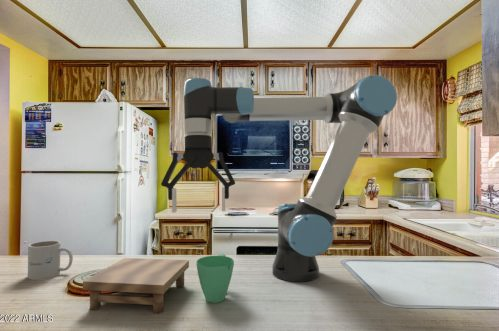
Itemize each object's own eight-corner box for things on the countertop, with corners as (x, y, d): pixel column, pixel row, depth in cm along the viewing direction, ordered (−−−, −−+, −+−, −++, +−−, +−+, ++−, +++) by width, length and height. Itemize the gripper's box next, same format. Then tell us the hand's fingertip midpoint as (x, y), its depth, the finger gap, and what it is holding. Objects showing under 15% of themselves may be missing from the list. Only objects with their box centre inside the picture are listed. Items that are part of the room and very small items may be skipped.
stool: (188, 283, 92) (188, 260, 92) (163, 315, 72) (163, 285, 72) (124, 281, 94) (124, 257, 94) (82, 310, 74) (82, 281, 74)
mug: (20, 280, 94) (21, 247, 94) (39, 270, 103) (40, 240, 103) (61, 280, 94) (61, 247, 94) (76, 270, 103) (77, 240, 103)
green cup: (230, 308, 76) (230, 267, 76) (191, 305, 77) (191, 265, 77) (238, 285, 91) (238, 251, 91) (205, 284, 92) (206, 250, 92)
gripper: (241, 136, 91) (243, 208, 91) (155, 137, 89) (156, 210, 89) (243, 133, 84) (244, 211, 84) (149, 134, 82) (150, 214, 82)
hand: (199, 211), depth 86 cm, fingers open, 13 cm apart
